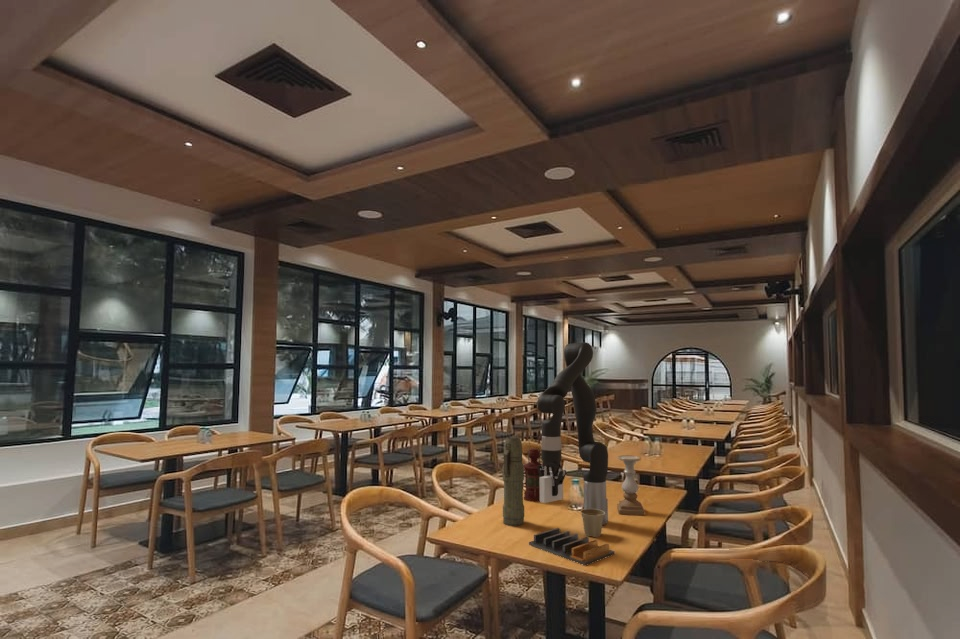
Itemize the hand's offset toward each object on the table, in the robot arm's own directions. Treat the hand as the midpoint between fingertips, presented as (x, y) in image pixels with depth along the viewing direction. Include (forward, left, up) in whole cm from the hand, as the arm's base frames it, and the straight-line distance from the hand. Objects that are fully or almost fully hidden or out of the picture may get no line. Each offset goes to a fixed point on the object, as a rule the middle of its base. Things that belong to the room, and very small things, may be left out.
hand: (551, 494), depth 201 cm
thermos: (-5, -26, -17) cm, 32 cm away
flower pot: (-18, +5, -17) cm, 26 cm away
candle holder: (-56, -4, -17) cm, 59 cm away
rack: (+1, +10, -17) cm, 20 cm away
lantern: (-39, -47, -17) cm, 64 cm away
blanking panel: (0, 0, -2) cm, 2 cm away
